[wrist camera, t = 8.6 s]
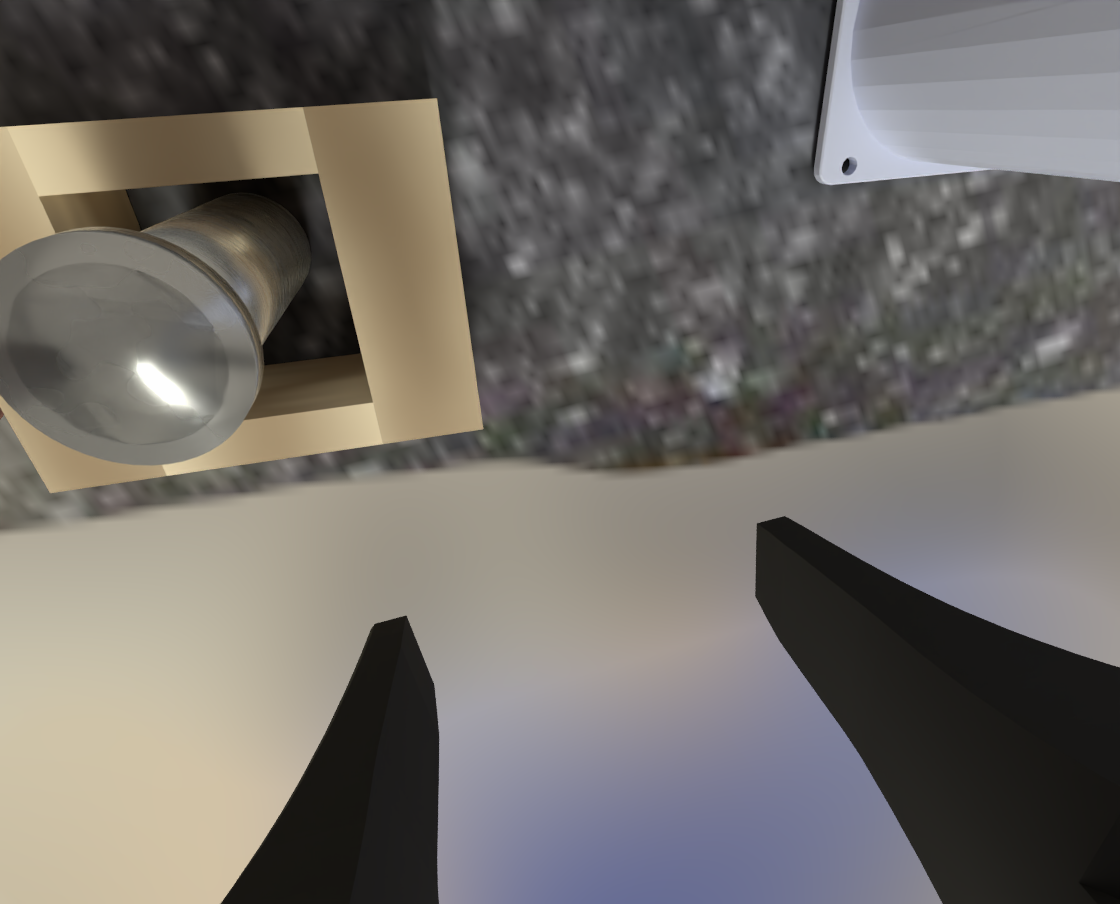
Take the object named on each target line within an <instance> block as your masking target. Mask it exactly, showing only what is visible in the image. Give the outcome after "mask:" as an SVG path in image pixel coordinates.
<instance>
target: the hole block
mask: <svg viewBox="0 0 1120 904" xmlns="http://www.w3.org/2000/svg"><path fill="white" fill-rule="evenodd" d="M305 174H319V178H320V182H321V186H322V190H323V195H324V199H325V203H326V207H327V211H328V216H329V220H330V224H331V228H332V232H333V237H334V241H335V245H336V249H337V253H338V258H339V262H340V266H341V270H342V274H343V279H344V283H345V287H346V291H347V295H348V300H349V304H350V308H351V312H352V316H353V321H354V325H355V329H356V333H357V337H358V342H359V346H360V350H361V353H360V354H352V355H344V356H336V357H328V358H320V359H312V360H304V361H296V362H288V363H280V364H272V365H264V369H263V378H262V382H261V387H260V390H259V392H258V395H257V397H256V400H255V401H254V403H253V405H252V407H251V409H250V410H249V412H248V414H247V416H246V417H245V419H244V420H243V422H242V424H241V425H240V426H239V428H238V429H237V430H236V431H235V432H234V433H233V435H232V436H230V437H229V438H228V439H227V440H226V441H224V442H223V443H222V444H221V445H219V446H218V447H216V448H214V449H213V450H211V451H209V452H207V453H205V454H203V455H200V456H198V457H196V458H192V459H189V460H186V461H183V462H177V463H172V464H165V465H152V466H150V465H130V464H122V463H116V462H111V461H106V460H102V459H98V458H95V457H92V456H89V455H86V454H83V453H80V452H78V451H76V450H73V449H71V448H69V447H66V446H64V445H63V444H61V443H59V442H57V441H55V440H53V439H51V438H50V437H48V436H47V435H45V434H43V433H42V432H40V431H39V430H37V429H36V428H34V427H33V426H32V425H31V424H29V423H28V422H27V421H26V420H24V419H23V418H22V417H21V416H20V415H19V414H18V413H17V412H16V411H15V410H14V409H13V408H12V407H11V406H9V405H8V404H7V402H6V401H5V400H4V399H3V397H2V396H1V395H0V408H1V410H2V411H3V413H4V415H5V416H6V418H7V420H8V422H9V423H10V425H11V427H12V428H13V430H14V432H15V434H16V435H17V437H18V439H19V440H20V442H21V444H22V446H23V447H24V449H25V451H26V452H27V454H28V456H29V457H30V459H31V461H32V463H33V464H34V466H35V468H36V469H37V471H38V473H39V475H40V476H41V478H42V480H43V481H44V483H45V485H46V487H47V488H48V490H49V492H50V493H54V492H61V491H67V490H74V489H81V488H88V487H94V486H101V485H108V484H115V483H122V482H128V481H135V480H142V479H149V478H155V477H162V476H169V475H176V474H183V473H189V472H196V471H203V470H210V469H216V468H223V467H230V466H237V465H244V464H250V463H257V462H264V461H271V460H277V459H284V458H291V457H298V456H305V455H311V454H318V453H325V452H332V451H338V450H345V449H352V448H359V447H365V446H372V445H379V444H386V443H393V442H399V441H406V440H413V439H420V438H426V437H433V436H440V435H447V434H454V433H460V432H467V431H474V430H481V429H483V425H482V417H481V410H480V403H479V396H478V389H477V382H476V375H475V367H474V360H473V353H472V346H471V339H470V332H469V325H468V317H467V310H466V303H465V296H464V289H463V282H462V275H461V267H460V260H459V253H458V246H457V239H456V232H455V224H454V217H453V210H452V203H451V196H450V189H449V182H448V174H447V167H446V160H445V153H444V146H443V139H442V132H441V124H440V117H439V110H438V103H437V98H434V99H419V100H404V101H388V102H373V103H358V104H343V105H328V106H313V107H297V108H282V109H267V110H252V111H237V112H222V113H207V114H191V115H176V116H161V117H146V118H131V119H116V120H100V121H85V122H70V123H55V124H40V125H25V126H10V127H0V260H1V259H2V258H3V257H5V256H6V255H8V254H9V253H11V252H12V251H14V250H15V249H17V248H19V247H21V246H23V245H25V244H28V243H30V242H32V241H35V240H38V239H41V238H44V237H47V236H50V235H53V234H56V233H60V232H63V231H67V230H70V229H77V228H84V227H115V228H124V229H130V230H134V231H138V232H140V231H141V229H140V226H139V224H138V221H137V218H136V216H135V213H134V211H133V208H132V206H131V203H130V200H129V198H128V195H127V193H126V190H125V189H134V188H146V187H159V186H171V185H183V184H195V183H208V182H220V181H232V180H244V179H256V178H269V177H281V176H293V175H305Z"/></svg>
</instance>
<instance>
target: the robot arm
mask: <svg viewBox="0 0 1120 904" xmlns="http://www.w3.org/2000/svg"><path fill="white" fill-rule="evenodd" d="M847 158H848V159H849V164H850V165H849V167H848V170H847V171H846V172H845V173H843V172H842V165H843V162H844V161H845V160H846V159H847ZM991 169H997V170H1007V171H1017V172H1027V173H1037V174H1047V175H1057V176H1067V177H1077V178H1087V179H1097V180H1107V181H1116V182H1120V0H837V5H836V13H835V20H834V27H833V34H832V41H831V49H830V56H829V63H828V70H827V77H826V85H825V92H824V99H823V106H822V114H821V121H820V128H819V135H818V142H817V150H816V157H815V164H814V175H815V178H816V180H817V181H819V182H820V183H823V184H829V185H835V184H845V183H856V182H866V181H876V180H887V179H897V178H908V177H918V176H929V175H939V174H949V173H960V172H970V171H981V170H991ZM755 594H756V595H755V596H756V598H757V600H758V602H759V604H760V606H761V608H762V610H763V612H764V614H765V616H766V617H767V619H768V621H769V623H770V625H771V626H772V628H773V630H774V632H775V634H776V636H777V637H778V639H779V641H780V642H781V644H782V645H783V647H784V648H785V649H786V651H787V652H788V654H789V655H790V656H791V658H792V659H793V661H794V662H795V664H796V665H797V666H798V668H799V669H800V671H801V672H802V673H803V675H804V676H805V678H806V679H807V680H808V682H809V683H810V685H811V686H812V687H813V689H814V690H815V692H816V693H817V694H818V696H819V697H820V699H821V700H822V701H823V703H824V704H825V705H826V707H827V708H828V710H829V711H830V713H831V714H832V715H833V717H834V718H835V719H836V721H837V722H838V723H839V725H840V726H841V728H842V729H843V731H844V732H845V733H846V735H847V736H848V738H849V739H850V741H851V742H852V744H853V745H854V747H855V748H856V750H857V752H858V753H859V754H860V756H861V758H862V759H863V761H864V763H865V764H866V766H867V768H868V770H869V771H870V773H871V775H872V776H873V778H874V780H875V782H876V783H877V785H878V787H879V788H880V790H881V792H882V794H883V795H884V797H885V799H886V800H887V802H888V804H889V806H890V807H891V809H892V811H893V813H894V815H895V816H896V818H897V820H898V822H899V823H900V825H901V827H902V829H903V831H904V832H905V834H906V836H907V838H908V840H909V841H910V843H911V845H912V847H913V848H914V850H915V852H916V854H917V856H918V858H919V859H920V861H921V863H922V865H923V867H924V869H925V871H926V873H927V875H928V877H929V878H930V880H931V882H932V884H933V886H934V888H935V890H936V892H937V894H938V895H939V897H940V899H941V901H942V903H943V904H1120V667H1116V666H1112V665H1110V664H1106V663H1103V662H1100V661H1097V660H1093V659H1090V658H1087V657H1084V656H1081V655H1078V654H1075V653H1072V652H1069V651H1066V650H1064V649H1061V648H1058V647H1055V646H1052V645H1049V644H1046V643H1043V642H1041V641H1038V640H1035V639H1032V638H1029V637H1027V636H1024V635H1022V634H1019V633H1016V632H1014V631H1011V630H1008V629H1006V628H1003V627H1001V626H998V625H996V624H994V623H991V622H989V621H987V620H984V619H982V618H979V617H977V616H974V615H972V614H969V613H967V612H965V611H963V610H960V609H958V608H956V607H954V606H951V605H949V604H947V603H945V602H943V601H941V600H938V599H936V598H934V597H932V596H930V595H928V594H926V593H924V592H922V591H920V590H918V589H916V588H914V587H912V586H910V585H908V584H906V583H904V582H902V581H900V580H898V579H896V578H894V577H892V576H890V575H888V574H887V573H885V572H883V571H881V570H879V569H877V568H875V567H874V566H872V565H870V564H868V563H866V562H864V561H862V560H861V559H859V558H857V557H855V556H854V555H852V554H850V553H848V552H847V551H845V550H843V549H841V548H840V547H838V546H836V545H834V544H832V543H831V542H829V541H827V540H826V539H824V538H822V537H821V536H819V535H817V534H815V533H814V532H812V531H810V530H809V529H807V528H805V527H803V526H802V525H800V524H798V523H796V522H794V521H792V520H791V519H789V518H787V517H785V516H784V517H780V518H776V519H772V520H768V521H765V522H761V523H757V541H756V592H755ZM438 786H439V729H438V718H437V708H436V698H435V688H434V683H433V681H432V678H431V676H430V673H429V671H428V668H427V666H426V663H425V661H424V658H423V656H422V653H421V651H420V648H419V646H418V643H417V641H416V639H415V636H414V633H413V631H412V628H411V626H410V623H409V621H408V618H407V616H403V617H399V618H396V619H392V620H388V621H384V622H381V623H377V624H374V626H373V627H372V629H371V631H370V633H369V636H368V638H367V641H366V643H365V646H364V648H363V651H362V654H361V656H360V658H359V660H358V663H357V665H356V668H355V670H354V672H353V674H352V677H351V679H350V681H349V684H348V686H347V688H346V690H345V693H344V695H343V697H342V699H341V701H340V703H339V705H338V707H337V710H336V712H335V714H334V716H333V718H332V720H331V722H330V724H329V726H328V728H327V731H326V733H325V735H324V736H323V739H322V740H321V742H320V744H319V746H318V748H317V750H316V752H315V753H314V755H313V758H312V759H311V761H310V763H309V765H308V767H307V769H306V771H305V772H304V774H303V776H302V778H301V780H300V781H299V783H298V785H297V787H296V788H295V790H294V792H293V794H292V795H291V797H290V799H289V801H288V802H287V804H286V806H285V807H284V809H283V811H282V812H281V814H280V816H279V817H278V819H277V820H276V822H275V824H274V825H273V827H272V828H271V830H270V832H269V833H268V835H267V836H266V838H265V839H264V841H263V843H262V844H261V846H260V847H259V849H258V850H257V852H256V853H255V855H254V856H253V858H252V859H251V861H250V862H249V864H248V865H247V867H246V868H245V869H244V871H243V872H242V874H241V875H240V877H239V878H238V880H237V881H236V883H235V884H234V886H233V887H232V889H231V890H230V891H229V893H228V894H227V896H226V897H225V898H224V900H223V901H222V903H221V904H439V900H438V883H437V882H438V881H437V880H438V878H437V838H438V834H437V833H438Z"/></svg>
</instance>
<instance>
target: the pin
mask: <svg viewBox="0 0 1120 904" xmlns="http://www.w3.org/2000/svg"><path fill="white" fill-rule="evenodd" d="M310 265H311V250H310V245H309V241H308V238H307V236H306V234H305V231H304V230H303V228H302V226H301V225H300V223H299V222H298V221H297V219H296V218H295V217H294V216H293V215H292V214H291V213H290V212H289V211H288V210H287V209H286V208H284V207H283V206H282V205H280V204H279V203H277V202H275V201H273V200H271V199H270V198H267V197H264V196H262V195H258V194H254V193H246V192H238V193H231V194H227V195H224V196H221V197H219V198H217V199H214V200H212V201H210V202H207V203H205V204H203V205H200V206H198V207H196V208H193V209H191V210H189V211H186V212H184V213H182V214H179V215H177V216H175V217H172V218H170V219H168V220H165V221H163V222H161V223H158V224H156V225H154V226H152V227H149V228H147V229H145V230H142V231H140V232H138V231H134V230H130V229H124V228H115V227H84V228H77V229H70V230H67V231H63V232H60V233H56V234H53V235H50V236H47V237H44V238H41V239H38V240H35V241H32V242H30V243H28V244H25V245H23V246H21V247H19V248H17V249H15V250H14V251H12V252H11V253H9V254H8V255H6V256H5V257H3V258H2V259H1V260H0V395H1V396H2V397H3V399H4V400H5V401H6V402H7V404H8V405H9V406H11V407H12V408H13V409H14V410H15V411H16V412H17V413H18V414H19V415H20V416H21V417H22V418H23V419H24V420H26V421H27V422H28V423H29V424H31V425H32V426H33V427H34V428H36V429H37V430H39V431H40V432H42V433H43V434H45V435H47V436H48V437H50V438H51V439H53V440H55V441H57V442H59V443H61V444H63V445H64V446H66V447H69V448H71V449H73V450H76V451H78V452H80V453H83V454H86V455H89V456H92V457H95V458H98V459H102V460H106V461H111V462H116V463H122V464H130V465H150V466H152V465H165V464H172V463H177V462H183V461H186V460H189V459H192V458H196V457H198V456H200V455H203V454H205V453H207V452H209V451H211V450H213V449H214V448H216V447H218V446H219V445H221V444H222V443H223V442H224V441H226V440H227V439H228V438H229V437H230V436H232V435H233V433H234V432H235V431H236V430H237V429H238V428H239V426H240V425H241V424H242V422H243V420H244V419H245V417H246V416H247V414H248V412H249V410H250V409H251V407H252V405H253V403H254V401H255V400H256V397H257V395H258V392H259V390H260V387H261V382H262V378H263V369H264V358H263V348H262V345H263V343H264V342H265V340H266V339H267V337H268V336H269V334H270V333H271V331H272V330H273V328H274V327H275V325H276V324H277V322H278V321H279V319H280V318H281V316H282V315H283V313H284V312H285V310H286V309H287V307H288V306H289V304H290V302H291V301H292V299H293V298H294V296H295V295H296V293H297V292H298V290H299V289H300V287H301V286H302V284H303V283H304V281H305V280H306V278H307V275H308V273H309V270H310Z"/></svg>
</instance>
